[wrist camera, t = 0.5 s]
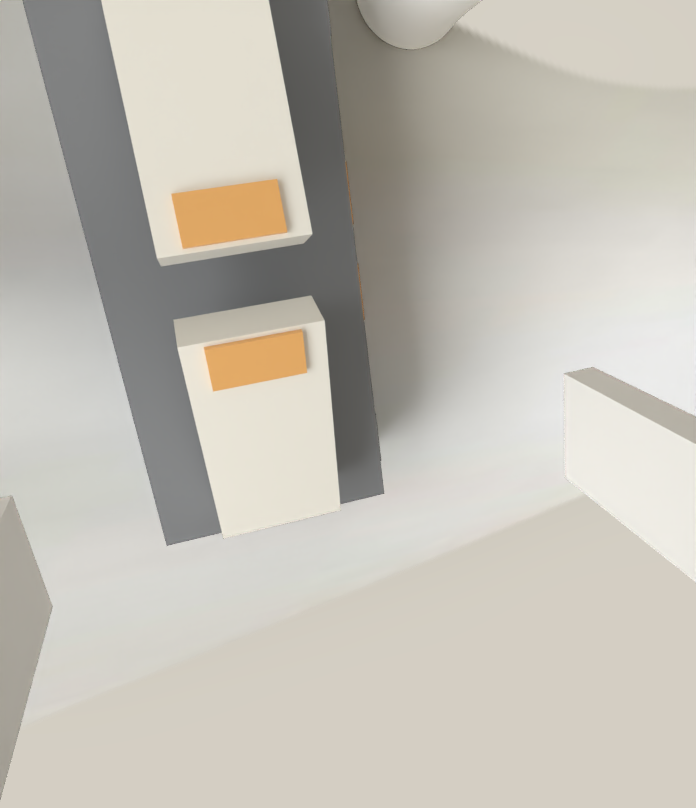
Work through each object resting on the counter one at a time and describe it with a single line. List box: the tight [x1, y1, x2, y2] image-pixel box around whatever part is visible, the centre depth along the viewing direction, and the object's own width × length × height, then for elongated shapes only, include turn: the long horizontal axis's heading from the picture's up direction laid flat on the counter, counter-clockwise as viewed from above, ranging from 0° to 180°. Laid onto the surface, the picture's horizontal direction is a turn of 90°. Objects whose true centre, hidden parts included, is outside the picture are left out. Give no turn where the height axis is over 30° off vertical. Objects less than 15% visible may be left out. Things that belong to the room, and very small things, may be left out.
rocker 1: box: [101, 0, 312, 266], centre depth 26 cm, size 6×11×3 cm, turn 7°
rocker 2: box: [173, 296, 341, 539], centre depth 31 cm, size 6×11×3 cm, turn 7°
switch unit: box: [23, 0, 384, 546], centre depth 33 cm, size 12×27×7 cm, turn 7°
